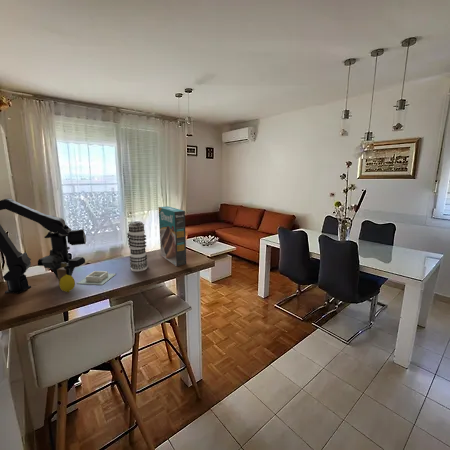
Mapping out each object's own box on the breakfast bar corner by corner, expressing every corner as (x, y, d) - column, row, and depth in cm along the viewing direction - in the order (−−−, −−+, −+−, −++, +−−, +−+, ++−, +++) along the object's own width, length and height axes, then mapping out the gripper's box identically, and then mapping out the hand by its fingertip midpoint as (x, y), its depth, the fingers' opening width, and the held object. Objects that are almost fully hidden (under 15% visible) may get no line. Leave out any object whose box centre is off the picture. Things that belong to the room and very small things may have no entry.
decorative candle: (127, 267, 132) (124, 221, 127) (144, 263, 138) (141, 219, 133) (132, 273, 125) (129, 224, 120) (150, 268, 131) (148, 222, 125)
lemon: (59, 292, 105) (56, 274, 103) (74, 288, 108) (71, 271, 107) (62, 296, 101) (59, 278, 99) (77, 292, 105) (75, 274, 103)
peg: (56, 285, 111) (54, 270, 110) (63, 281, 115) (61, 267, 114) (65, 285, 111) (63, 271, 109) (72, 281, 115) (70, 267, 114)
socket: (77, 283, 113) (76, 278, 112) (93, 273, 124) (92, 268, 124) (102, 285, 112) (101, 279, 111) (116, 274, 123) (115, 269, 123)
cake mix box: (160, 255, 152) (158, 207, 146) (170, 253, 155) (168, 206, 149) (176, 266, 135) (174, 211, 128) (186, 263, 138) (184, 210, 132)
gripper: (24, 251, 102) (29, 286, 105) (66, 252, 101) (71, 288, 104) (45, 243, 113) (50, 275, 116) (84, 245, 112) (87, 277, 115)
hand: (64, 279), depth 113 cm, fingers closed on peg, 4 cm apart
